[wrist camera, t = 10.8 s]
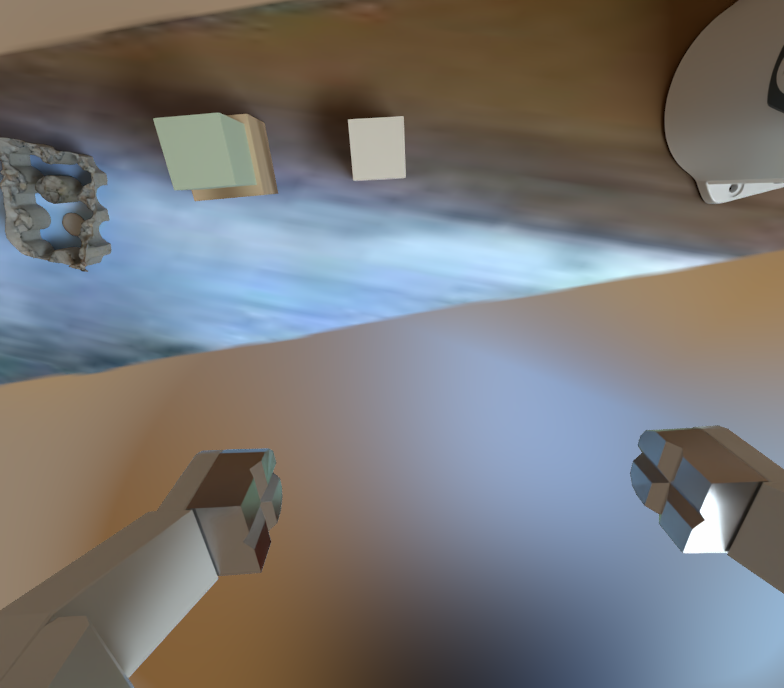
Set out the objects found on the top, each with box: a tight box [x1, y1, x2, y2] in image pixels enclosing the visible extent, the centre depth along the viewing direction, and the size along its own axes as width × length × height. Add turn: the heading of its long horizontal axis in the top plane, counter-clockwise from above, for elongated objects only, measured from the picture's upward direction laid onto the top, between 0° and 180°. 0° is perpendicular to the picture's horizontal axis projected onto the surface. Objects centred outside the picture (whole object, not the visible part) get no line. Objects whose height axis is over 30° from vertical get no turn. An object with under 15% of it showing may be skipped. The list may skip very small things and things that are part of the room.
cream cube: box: [348, 116, 406, 181], centre depth 32 cm, size 4×4×5 cm
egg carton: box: [0, 137, 111, 272], centre depth 34 cm, size 11×8×4 cm
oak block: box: [192, 114, 278, 201], centre depth 32 cm, size 6×6×5 cm
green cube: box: [153, 113, 257, 190], centre depth 28 cm, size 4×4×5 cm
